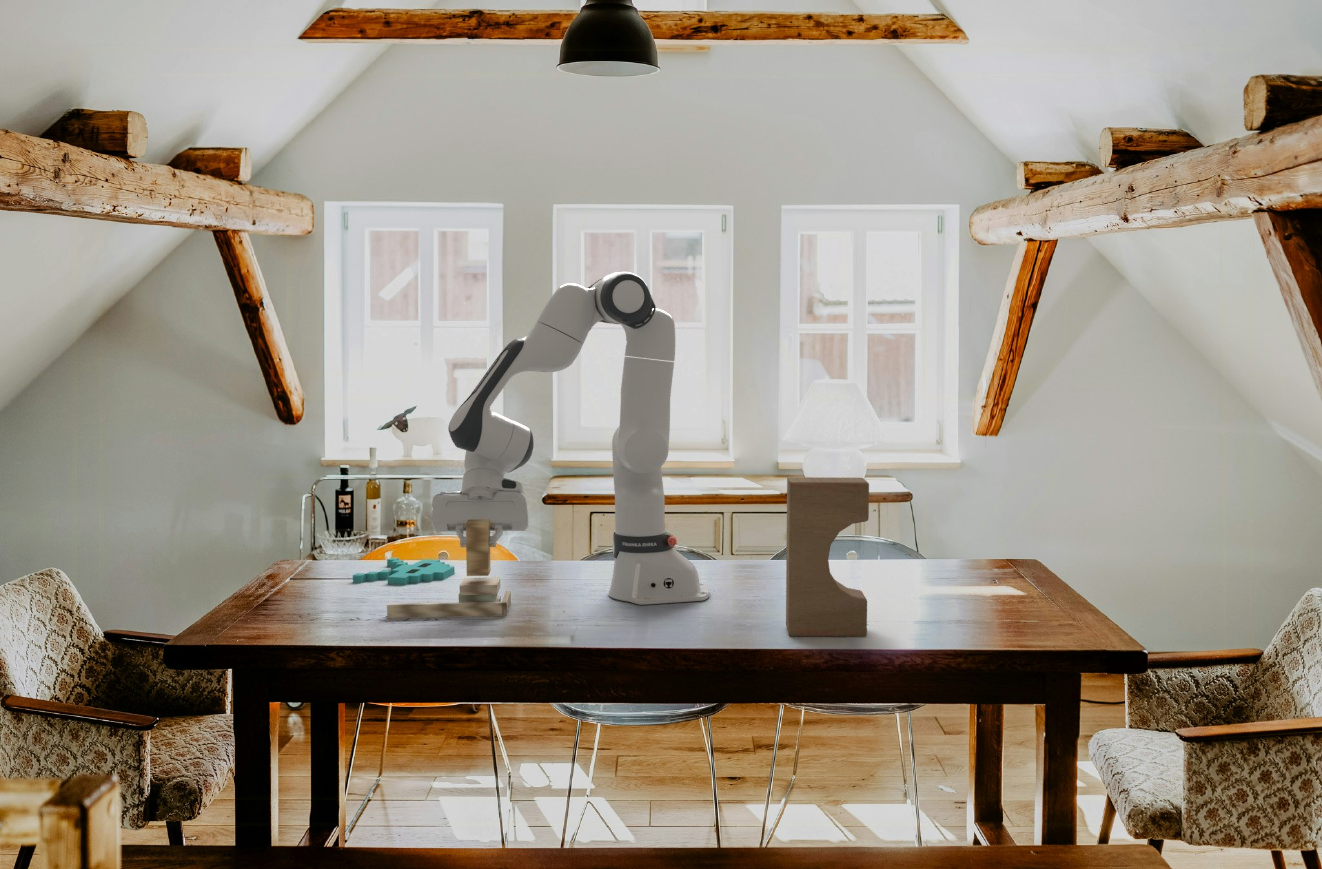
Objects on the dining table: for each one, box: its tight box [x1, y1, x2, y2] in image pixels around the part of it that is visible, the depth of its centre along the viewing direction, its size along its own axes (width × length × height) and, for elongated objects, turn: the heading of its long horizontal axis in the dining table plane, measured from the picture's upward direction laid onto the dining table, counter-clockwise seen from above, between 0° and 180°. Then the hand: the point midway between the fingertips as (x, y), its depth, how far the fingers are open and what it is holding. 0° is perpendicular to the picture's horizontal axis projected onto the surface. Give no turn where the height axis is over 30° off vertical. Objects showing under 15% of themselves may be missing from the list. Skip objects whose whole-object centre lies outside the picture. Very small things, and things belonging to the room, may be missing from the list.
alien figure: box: [352, 557, 455, 586], centre depth 254 cm, size 20×2×20 cm
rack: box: [386, 590, 512, 619], centre depth 216 cm, size 24×10×4 cm, turn 93°
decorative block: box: [785, 476, 870, 638], centre depth 203 cm, size 15×8×30 cm, turn 87°
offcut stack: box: [458, 576, 502, 603], centre depth 217 cm, size 8×7×6 cm
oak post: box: [465, 519, 492, 577], centre depth 216 cm, size 4×4×11 cm
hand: (478, 545), depth 215 cm, fingers closed on oak post, 4 cm apart
